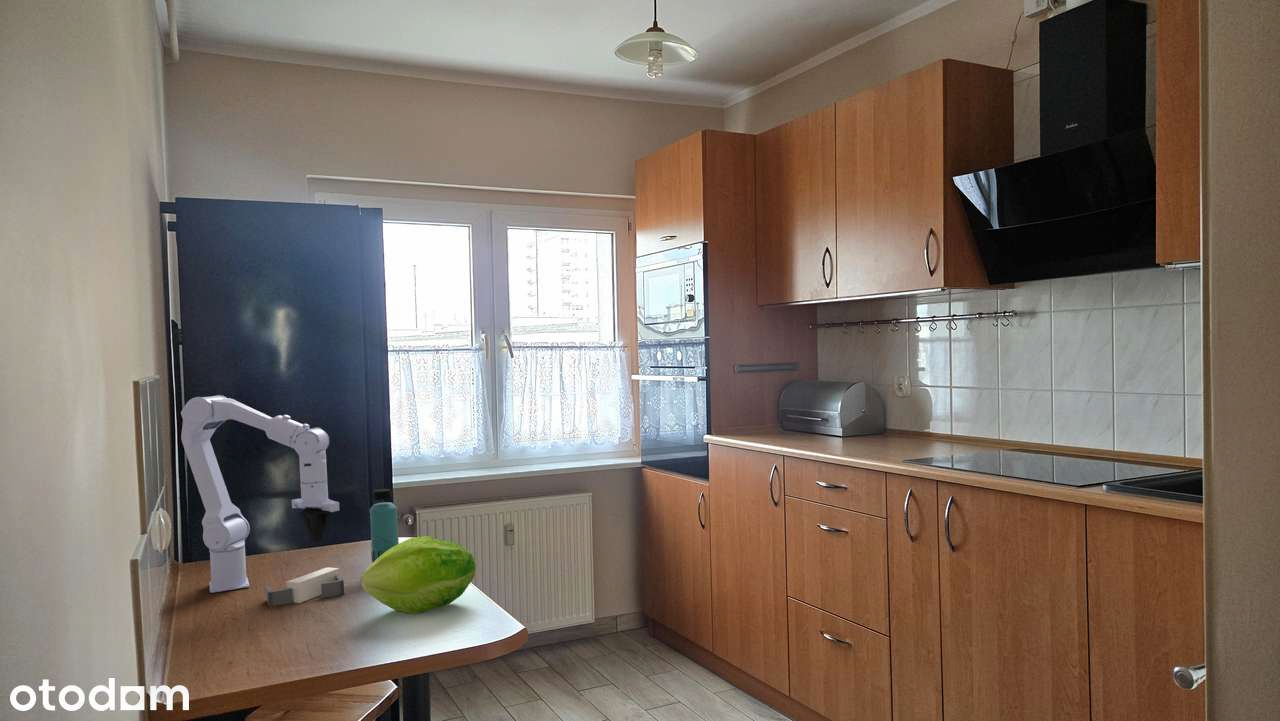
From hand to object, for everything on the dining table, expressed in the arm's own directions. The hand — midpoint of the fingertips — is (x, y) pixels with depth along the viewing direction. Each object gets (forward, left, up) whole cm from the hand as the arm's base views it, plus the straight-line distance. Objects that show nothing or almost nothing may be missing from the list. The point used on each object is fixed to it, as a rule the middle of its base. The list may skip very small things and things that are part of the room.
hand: (317, 541), depth 190 cm
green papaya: (+34, +15, -10) cm, 39 cm away
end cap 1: (+10, -9, -10) cm, 16 cm away
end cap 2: (+10, +1, -10) cm, 14 cm away
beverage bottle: (0, +15, -10) cm, 18 cm away
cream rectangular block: (+8, -2, -10) cm, 13 cm away
